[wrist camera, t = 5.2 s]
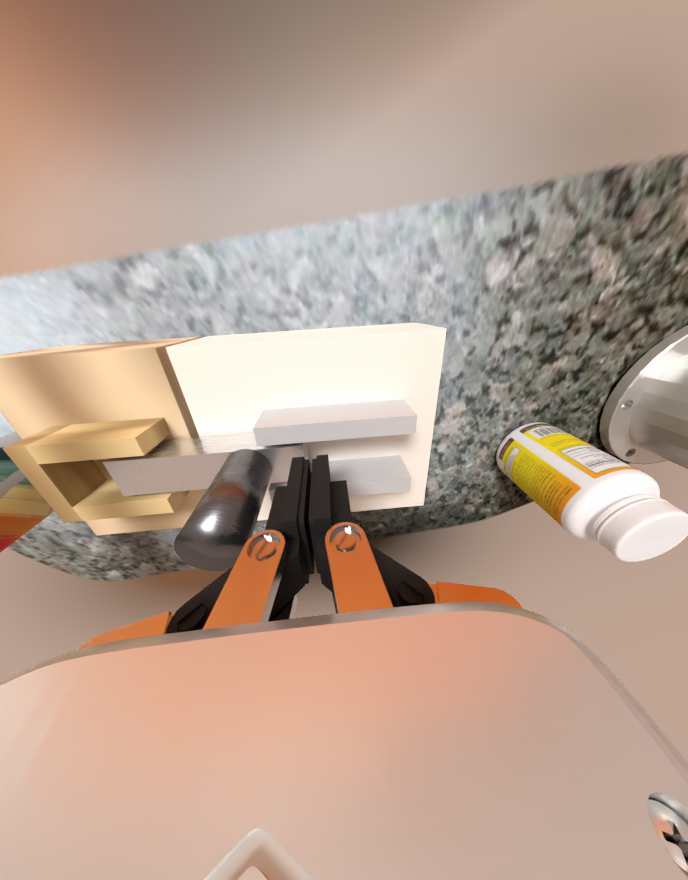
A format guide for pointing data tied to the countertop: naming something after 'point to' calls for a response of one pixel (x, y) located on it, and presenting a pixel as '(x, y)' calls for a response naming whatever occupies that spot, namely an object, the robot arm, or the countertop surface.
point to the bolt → (210, 488)
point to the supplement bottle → (592, 492)
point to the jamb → (96, 428)
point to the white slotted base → (325, 400)
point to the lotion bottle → (17, 498)
